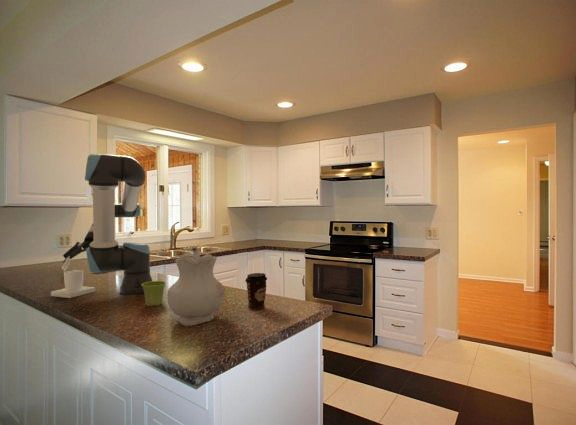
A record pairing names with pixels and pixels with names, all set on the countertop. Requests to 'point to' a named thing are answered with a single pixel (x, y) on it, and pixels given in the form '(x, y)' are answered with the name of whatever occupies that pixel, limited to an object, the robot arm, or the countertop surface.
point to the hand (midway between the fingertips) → (77, 269)
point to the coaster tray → (69, 295)
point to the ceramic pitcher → (195, 289)
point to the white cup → (73, 280)
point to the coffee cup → (256, 290)
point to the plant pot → (153, 292)
